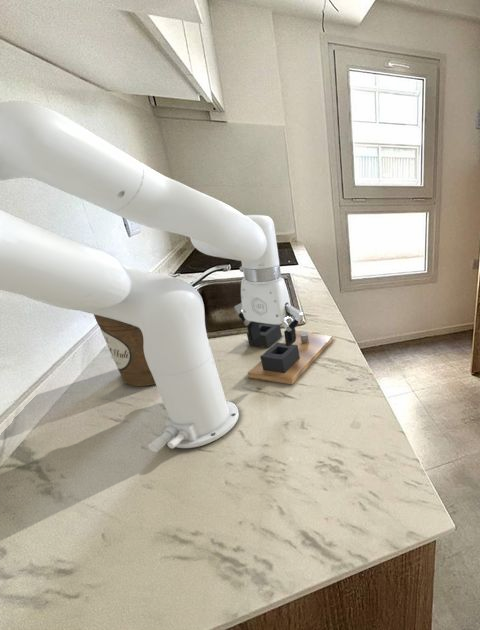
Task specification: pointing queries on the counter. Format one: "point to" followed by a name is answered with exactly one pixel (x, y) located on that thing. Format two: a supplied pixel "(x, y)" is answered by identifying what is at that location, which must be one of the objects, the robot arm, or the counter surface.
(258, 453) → the counter surface
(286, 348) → the black hollow rectangular block
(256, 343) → the dark grey hollow block
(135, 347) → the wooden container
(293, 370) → the wooden board
